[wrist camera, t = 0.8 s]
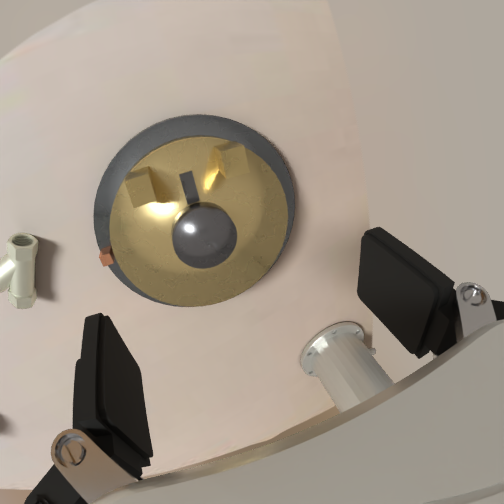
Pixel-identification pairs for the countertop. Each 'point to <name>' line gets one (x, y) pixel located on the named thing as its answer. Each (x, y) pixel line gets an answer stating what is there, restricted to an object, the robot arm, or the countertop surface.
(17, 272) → the pipe fitting
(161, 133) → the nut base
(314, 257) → the countertop surface
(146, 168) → the lugged brass disc
